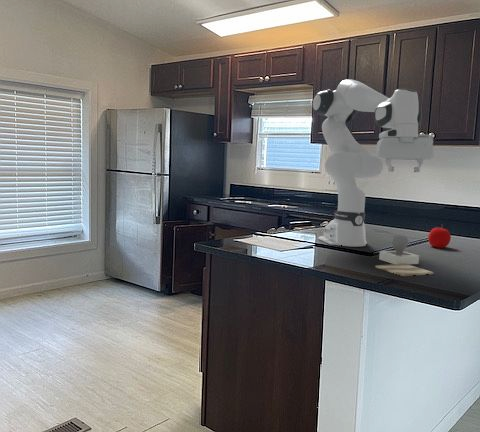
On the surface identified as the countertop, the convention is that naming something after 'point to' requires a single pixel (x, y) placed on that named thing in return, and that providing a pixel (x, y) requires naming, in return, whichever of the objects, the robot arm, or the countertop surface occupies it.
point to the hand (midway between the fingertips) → (403, 172)
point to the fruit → (439, 237)
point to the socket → (399, 257)
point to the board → (404, 269)
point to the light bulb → (400, 243)
